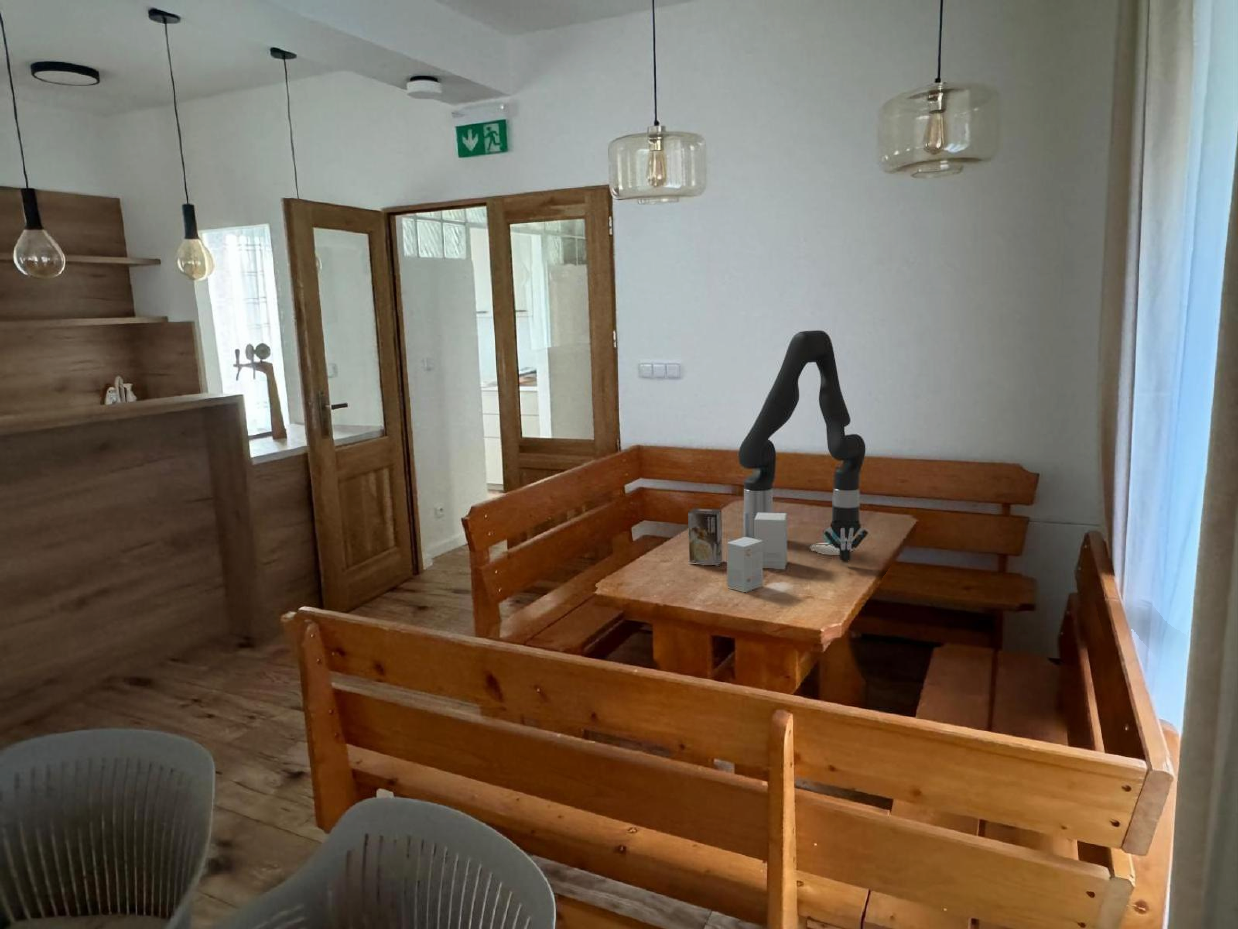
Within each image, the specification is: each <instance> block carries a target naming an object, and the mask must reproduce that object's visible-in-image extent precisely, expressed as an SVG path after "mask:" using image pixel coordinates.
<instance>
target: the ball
mask: <svg viewBox="0 0 1238 929" xmlns="http://www.w3.org/2000/svg"><path fill="white" fill-rule="evenodd" d="M832 533H833V535H832V537H833V539H834V540H835V541H836V542H837V543H839V540H838V536H837V535H836V534H835V533H834V531H833V530H832ZM823 534H824V533H823ZM824 540H825V541H826V543H830V544H832V543H831V542H830V540H829V539H828V538H827V537H826V535H825V534H824Z"/></svg>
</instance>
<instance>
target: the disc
mask: <svg viewBox="0 0 1238 929" xmlns="http://www.w3.org/2000/svg"><path fill="white" fill-rule="evenodd" d="M817 544H830V543H828V542H819V543H817ZM810 548H811V550H812V552H813V551H825V552H818V553H817V554H819V553H821V554H820V555H825V554H826V556H827V555H828V556H839V548H835V546H834V545H828V546H825V545H821V546H820V545H816V546H815V545H814V544H812V545H810V546H809V549H810ZM812 548H815V549H812ZM853 549H854V548H852V549H851V550H850V553H852V552H853ZM811 550H810V551H811ZM831 551H833V552H831ZM851 551H852V552H851Z"/></svg>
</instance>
